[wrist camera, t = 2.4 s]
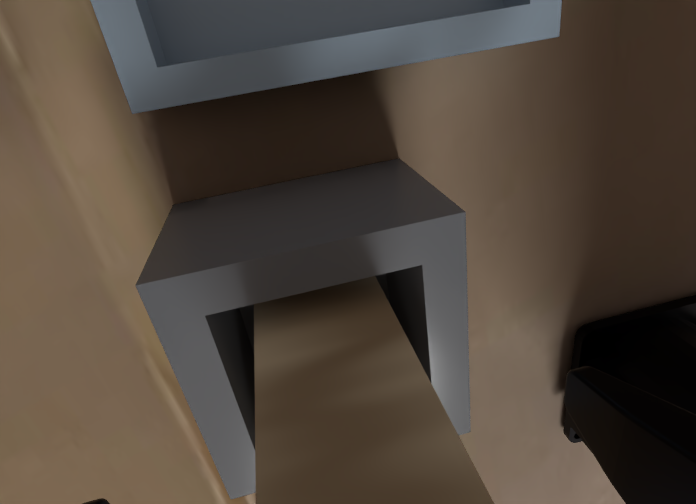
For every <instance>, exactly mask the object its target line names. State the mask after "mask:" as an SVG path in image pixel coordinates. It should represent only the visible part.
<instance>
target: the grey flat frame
mask: <svg viewBox="0 0 696 504" xmlns="http://www.w3.org/2000/svg"><path fill="white" fill-rule="evenodd" d="M91 3H92V6H93V8H94V11H95V14H96V17H97V19H98V22H99V25H100V27H101V30H102V33H103V36H104V38H105V41H106V44H107V46H108V49H109V52H110V55H111V57H112V60H113V63H114V65H115V68H116V71H117V74H118V76H119V79H120V82H121V84H122V87H123V90H124V93H125V95H126V98H127V101H128V103H129V106H130V109H131V112H132V114H135V113H140V112H146V111H151V110H157V109H162V108H168V107H173V106H179V105H184V104H190V103H195V102H201V101H207V100H212V99H218V98H223V97H229V96H234V95H240V94H245V93H251V92H256V91H262V90H267V89H273V88H278V87H284V86H289V85H295V84H300V83H306V82H312V81H317V80H323V79H328V78H334V77H339V76H345V75H350V74H356V73H361V72H367V71H372V70H378V69H383V68H389V67H394V66H400V65H405V64H411V63H416V62H422V61H428V60H433V59H439V58H444V57H450V56H455V55H461V54H466V53H472V52H477V51H483V50H488V49H494V48H499V47H505V46H510V45H516V44H521V43H527V42H532V41H538V40H544V39H549V38H555V37H559V33H560V19H561V5H562V0H91Z"/></svg>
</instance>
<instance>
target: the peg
mask: <svg viewBox="0 0 696 504" xmlns="http://www.w3.org/2000/svg"><path fill="white" fill-rule="evenodd" d="M254 373H255V473H256V504H494V503H493V501H492V499H491V497H490V495H489V493H488V491H487V489H486V487H485V485H484V484H483V482H482V480H481V478H480V476H479V474H478V472H477V470H476V468H475V466H474V464H473V462H472V461H471V459H470V457H469V455H468V453H467V451H466V449H465V447H464V445H463V443H462V441H461V439H460V438H459V436H458V434H457V432H456V430H455V428H454V426H453V424H452V422H451V420H450V418H449V416H448V415H447V413H446V411H445V409H444V407H443V405H442V403H441V401H440V399H439V397H438V395H437V393H436V392H435V390H434V388H433V386H432V384H431V382H430V380H429V378H428V376H427V374H426V372H425V371H424V369H423V367H422V365H421V363H420V361H419V359H418V357H417V355H416V353H415V351H414V349H413V348H412V346H411V344H410V342H409V340H408V338H407V336H406V334H405V332H404V330H403V328H402V326H401V325H400V323H399V321H398V319H397V317H396V315H395V313H394V311H393V309H392V307H391V305H390V303H389V302H388V300H387V298H386V296H385V294H384V292H383V290H382V288H381V286H380V284H379V282H378V280H377V279H376V277H375V276H373V277H368V278H364V279H360V280H356V281H351V282H347V283H343V284H338V285H334V286H330V287H326V288H321V289H317V290H313V291H309V292H304V293H300V294H296V295H292V296H287V297H283V298H279V299H274V300H270V301H266V302H262V303H257V304H254Z"/></svg>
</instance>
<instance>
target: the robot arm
mask: <svg viewBox="0 0 696 504" xmlns="http://www.w3.org/2000/svg"><path fill="white" fill-rule="evenodd" d="M564 402H565V406H566V415H565V423H564V434H565V435H566V437H567V438H568V439H569V440H570V441H571V442H573V443H577V442H581V441H583V442H584V443H585V445H586V446H587V447H588V448H589V449H590V451H591V452H592V453H593V454H594V456H595V458H596V459H597V461H598V462H599V464H600V466H601V467H602V469H603V471H604V472H605V474H606V476H607V477H608V479H609V480H610V482H611V483H612V485H613V486H614V488H615V489H616V490H617V492H618V493H619V495H620V496H621V497H622V499H623V500H624V502H625V503H626V504H696V295H695V296H692V297H688V298H684V299H680V300H676V301H672V302H669V303H665V304H661V305H657V306H653V307H649V308H646V309H642V310H638V311H634V312H630V313H626V314H623V315H619V316H615V317H611V318H607V319H603V320H600V321H596V322H592V323H588V324H586V325H583V326H582V327H581V328H579V330H578V331H577V332H576V335H575V341H574V349H573V357H572V366H571V370H570V371H569V372H568V374H567V378H566V387H565V396H564ZM83 504H109V502H108V501H107V500H105V499H103V498H102V499H97V500H93V501H90V502H86V503H83Z"/></svg>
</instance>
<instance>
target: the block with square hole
mask: <svg viewBox="0 0 696 504" xmlns="http://www.w3.org/2000/svg"><path fill="white" fill-rule="evenodd" d="M373 276H375V277H376V279H377V280H378V282H379V284H380V286H381V288H382V290H383V292H384V294H385V296H386V298H387V300H388V302H389V303H390V305H391V307H392V309H393V311H394V313H395V315H396V317H397V319H398V321H399V323H400V325H401V326H402V328H403V330H404V332H405V334H406V336H407V338H408V340H409V342H410V344H411V346H412V348H413V349H414V351H415V353H416V355H417V357H418V359H419V361H420V363H421V365H422V367H423V369H424V371H425V372H426V374H427V376H428V378H429V380H430V382H431V384H432V386H433V388H434V390H435V392H436V393H437V395H438V397H439V399H440V401H441V403H442V405H443V407H444V409H445V411H446V413H447V415H448V416H449V418H450V420H451V422H452V424H453V426H454V428H455V430H456V432H457V434H458V435H461V434H465V433H469V432H470V389H469V345H468V302H467V258H466V214H465V211H464V210H462V209H461V208H460V207H459V206H458V205H456V204H455V203H454V202H453V201H451V200H450V199H449V198H448V197H446V196H445V195H444V194H443V193H441V192H440V191H439V190H438V189H437V188H435V187H434V186H433V185H432V184H430V183H429V182H428V181H427V180H425V179H424V178H423V177H422V176H420V175H419V174H418V173H417V172H416V171H414V170H413V169H412V168H411V167H409V166H408V165H407V164H406V163H404V162H403V161H402V160H401V159H394V160H389V161H384V162H379V163H374V164H370V165H365V166H360V167H355V168H350V169H345V170H340V171H335V172H331V173H326V174H321V175H316V176H311V177H306V178H301V179H297V180H292V181H287V182H282V183H277V184H272V185H267V186H262V187H258V188H253V189H248V190H243V191H238V192H233V193H228V194H223V195H219V196H214V197H209V198H204V199H199V200H194V201H189V202H184V203H180V204H175V205H173V207H172V209H171V211H170V213H169V215H168V217H167V219H166V221H165V224H164V226H163V228H162V230H161V232H160V234H159V236H158V239H157V241H156V243H155V245H154V247H153V249H152V251H151V253H150V256H149V258H148V260H147V262H146V264H145V266H144V268H143V271H142V273H141V275H140V277H139V279H138V281H137V283H136V288H137V290H138V292H139V294H140V297H141V299H142V301H143V303H144V306H145V308H146V310H147V312H148V315H149V317H150V319H151V321H152V324H153V326H154V328H155V330H156V333H157V335H158V337H159V339H160V342H161V344H162V346H163V348H164V351H165V353H166V355H167V357H168V360H169V362H170V364H171V366H172V369H173V371H174V373H175V375H176V378H177V380H178V382H179V384H180V387H181V389H182V391H183V393H184V396H185V398H186V400H187V402H188V405H189V407H190V409H191V411H192V413H193V416H194V418H195V420H196V422H197V425H198V427H199V429H200V431H201V434H202V436H203V438H204V440H205V443H206V445H207V447H208V449H209V452H210V454H211V456H212V458H213V461H214V463H215V465H216V467H217V470H218V472H219V474H220V476H221V479H222V481H223V483H224V485H225V488H226V490H227V492H228V494H229V497H230V499H234V498H238V497H241V496H245V495H249V494H252V493H256V473H255V373H254V304H257V303H262V302H266V301H270V300H274V299H279V298H283V297H287V296H292V295H296V294H300V293H304V292H309V291H313V290H317V289H321V288H326V287H330V286H334V285H338V284H343V283H347V282H351V281H356V280H360V279H364V278H368V277H373Z"/></svg>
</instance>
